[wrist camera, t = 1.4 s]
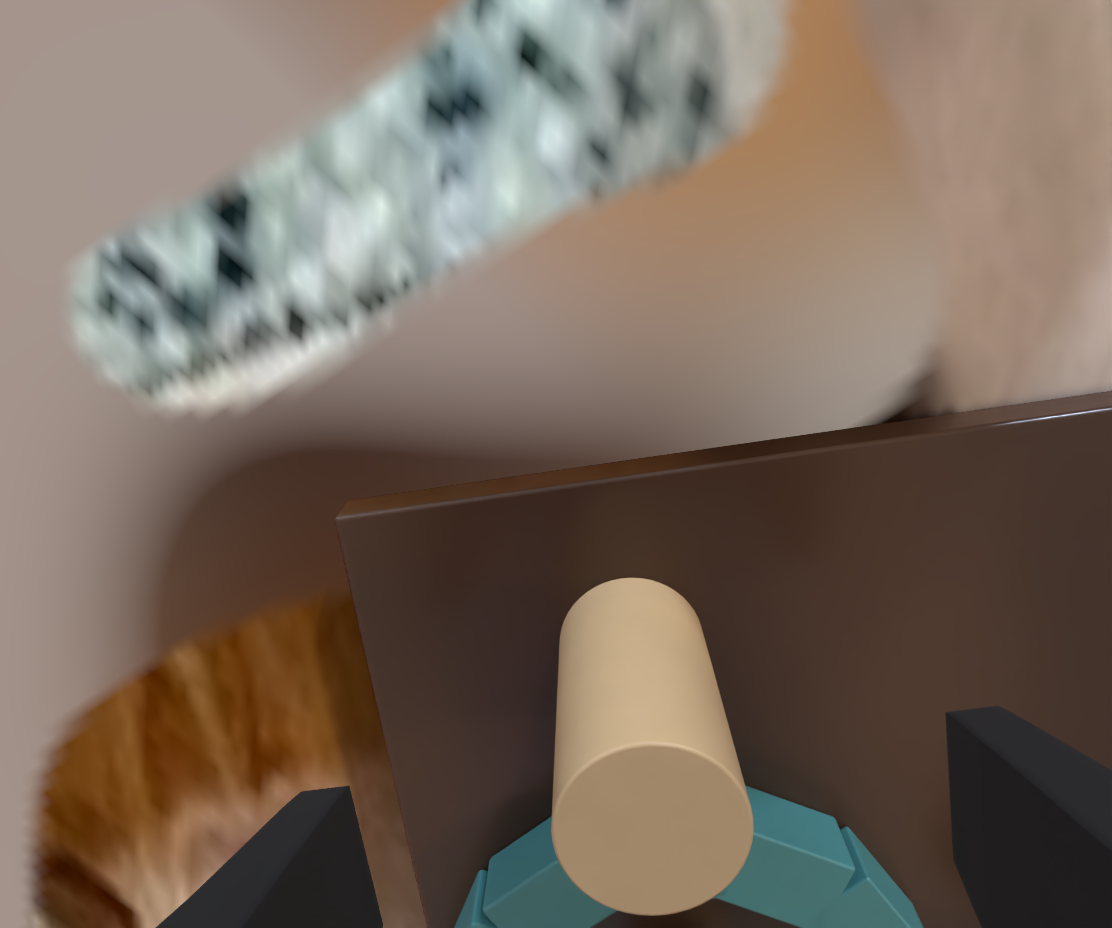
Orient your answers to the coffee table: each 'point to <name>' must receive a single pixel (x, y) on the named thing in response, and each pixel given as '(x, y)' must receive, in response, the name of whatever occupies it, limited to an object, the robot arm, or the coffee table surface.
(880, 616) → the rack
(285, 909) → the robot arm
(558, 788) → the ring
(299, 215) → the coffee table surface
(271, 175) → the coffee table surface
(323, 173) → the coffee table surface
